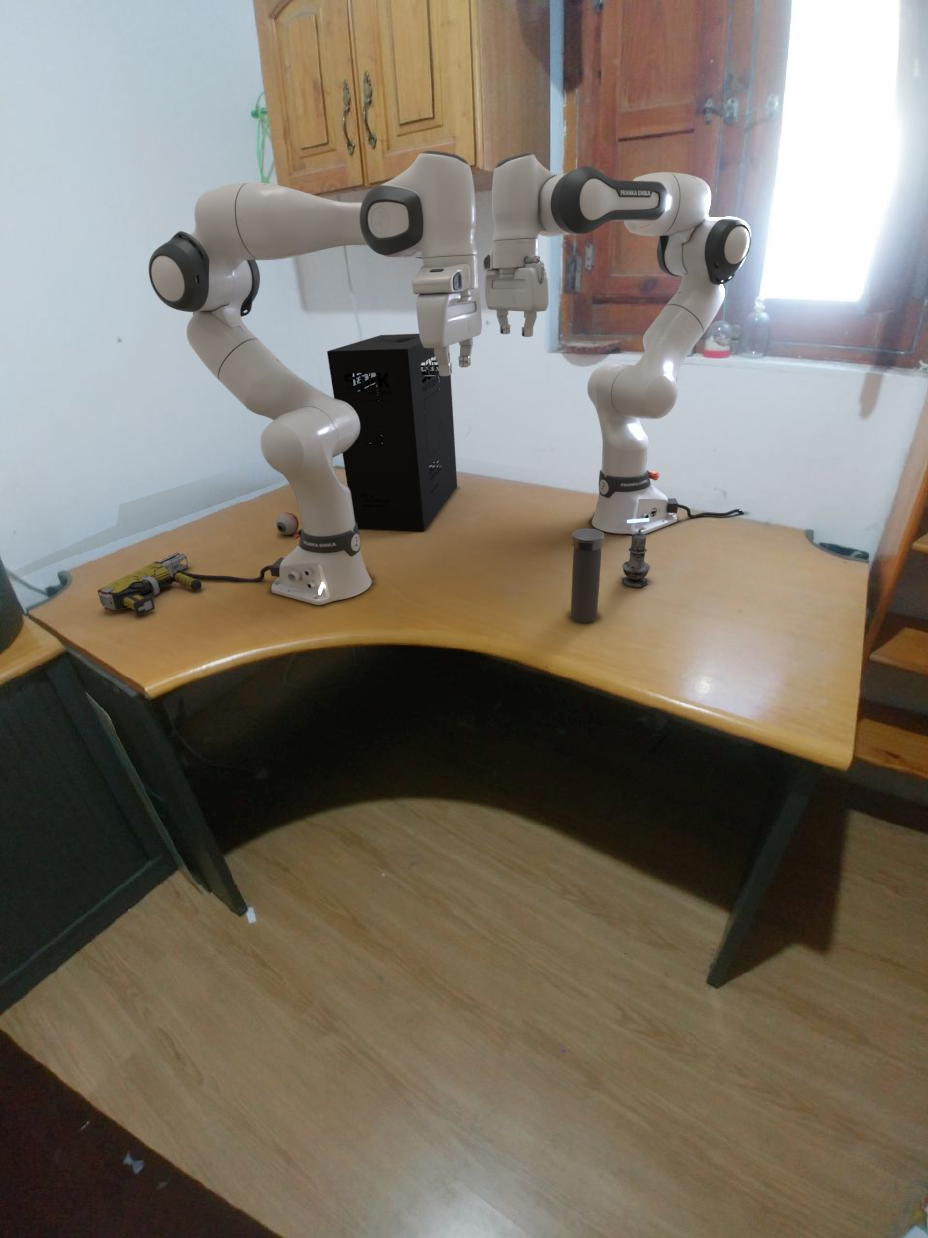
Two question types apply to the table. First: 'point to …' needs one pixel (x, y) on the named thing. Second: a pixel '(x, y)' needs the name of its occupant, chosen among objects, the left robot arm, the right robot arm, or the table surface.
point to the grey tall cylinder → (585, 585)
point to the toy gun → (146, 585)
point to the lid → (588, 539)
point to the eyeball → (287, 523)
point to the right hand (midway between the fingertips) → (516, 335)
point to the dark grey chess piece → (636, 562)
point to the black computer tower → (396, 431)
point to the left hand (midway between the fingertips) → (455, 370)
